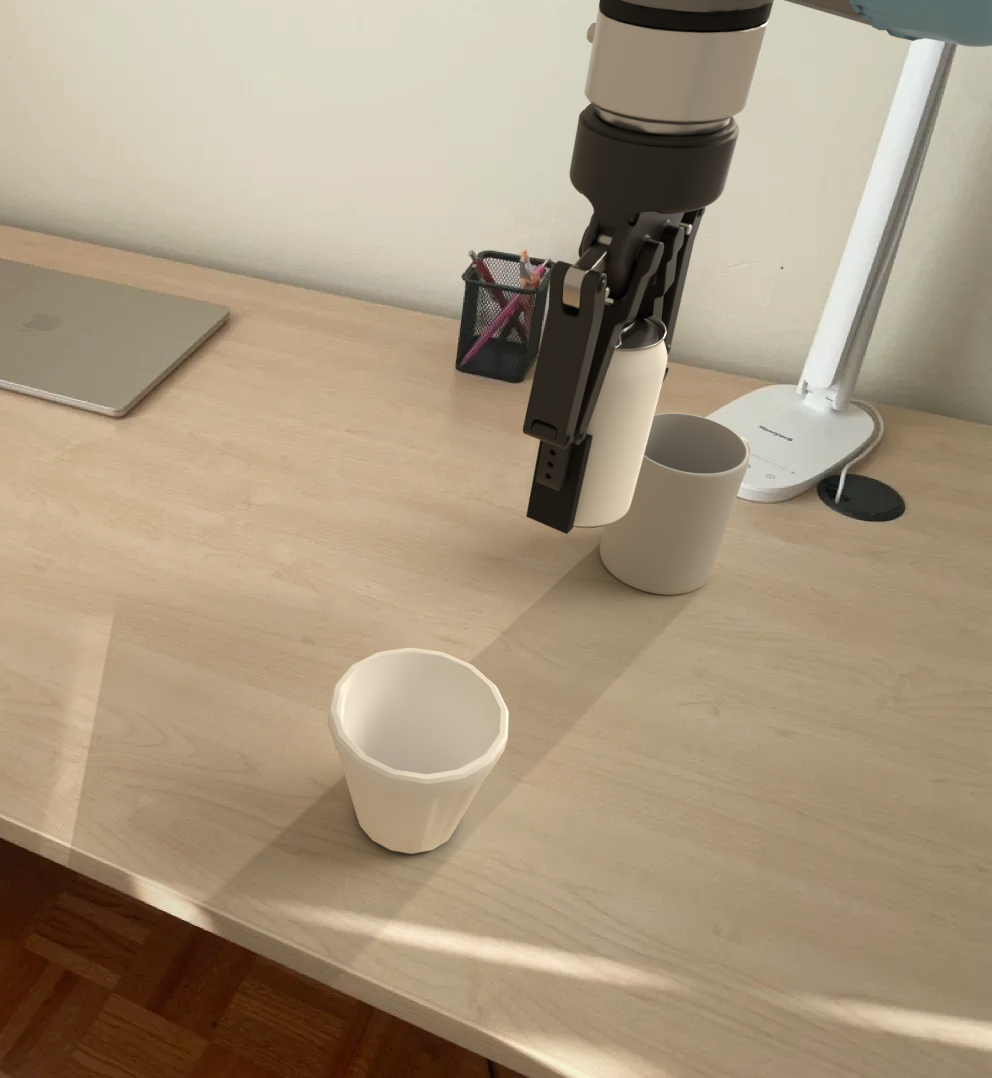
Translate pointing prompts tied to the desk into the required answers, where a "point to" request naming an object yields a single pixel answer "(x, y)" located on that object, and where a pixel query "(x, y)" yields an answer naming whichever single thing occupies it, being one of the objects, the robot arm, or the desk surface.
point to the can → (619, 424)
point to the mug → (677, 506)
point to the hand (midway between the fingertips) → (577, 494)
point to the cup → (415, 743)
